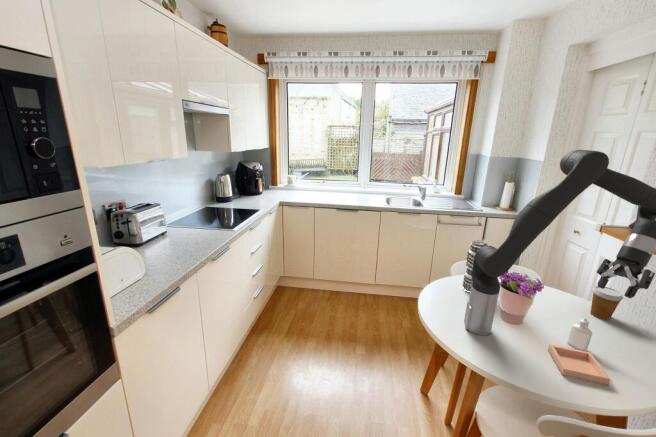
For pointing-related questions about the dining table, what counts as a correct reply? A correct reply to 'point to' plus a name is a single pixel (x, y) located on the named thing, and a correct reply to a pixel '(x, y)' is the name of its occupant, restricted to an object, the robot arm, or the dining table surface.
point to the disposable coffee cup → (605, 302)
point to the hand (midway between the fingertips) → (613, 292)
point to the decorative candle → (471, 263)
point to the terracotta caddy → (578, 364)
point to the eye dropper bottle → (580, 335)
